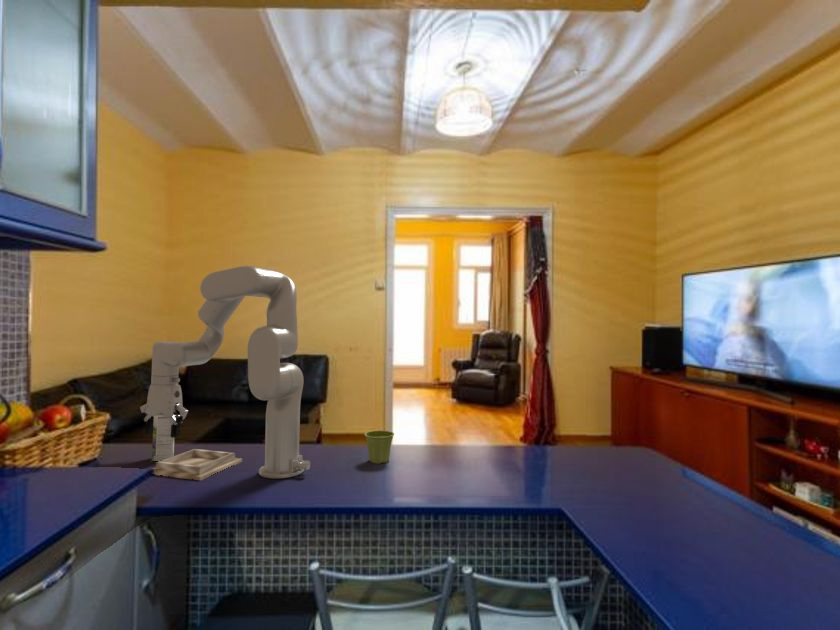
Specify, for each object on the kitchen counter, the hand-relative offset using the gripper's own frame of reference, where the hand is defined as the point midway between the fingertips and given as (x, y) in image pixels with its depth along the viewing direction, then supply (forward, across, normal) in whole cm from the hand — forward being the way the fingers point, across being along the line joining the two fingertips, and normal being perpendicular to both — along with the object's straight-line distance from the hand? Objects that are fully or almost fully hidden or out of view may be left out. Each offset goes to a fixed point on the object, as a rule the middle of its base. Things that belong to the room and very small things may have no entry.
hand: (162, 435), depth 146 cm
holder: (+7, -17, +4) cm, 19 cm away
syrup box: (+8, -1, 0) cm, 8 cm away
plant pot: (+6, -66, -19) cm, 69 cm away
